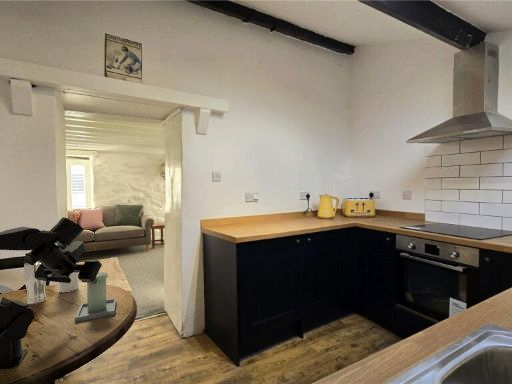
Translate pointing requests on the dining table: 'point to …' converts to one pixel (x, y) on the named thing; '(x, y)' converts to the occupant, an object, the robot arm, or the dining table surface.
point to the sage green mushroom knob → (97, 294)
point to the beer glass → (34, 285)
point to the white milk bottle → (72, 285)
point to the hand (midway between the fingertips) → (83, 282)
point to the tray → (109, 311)
